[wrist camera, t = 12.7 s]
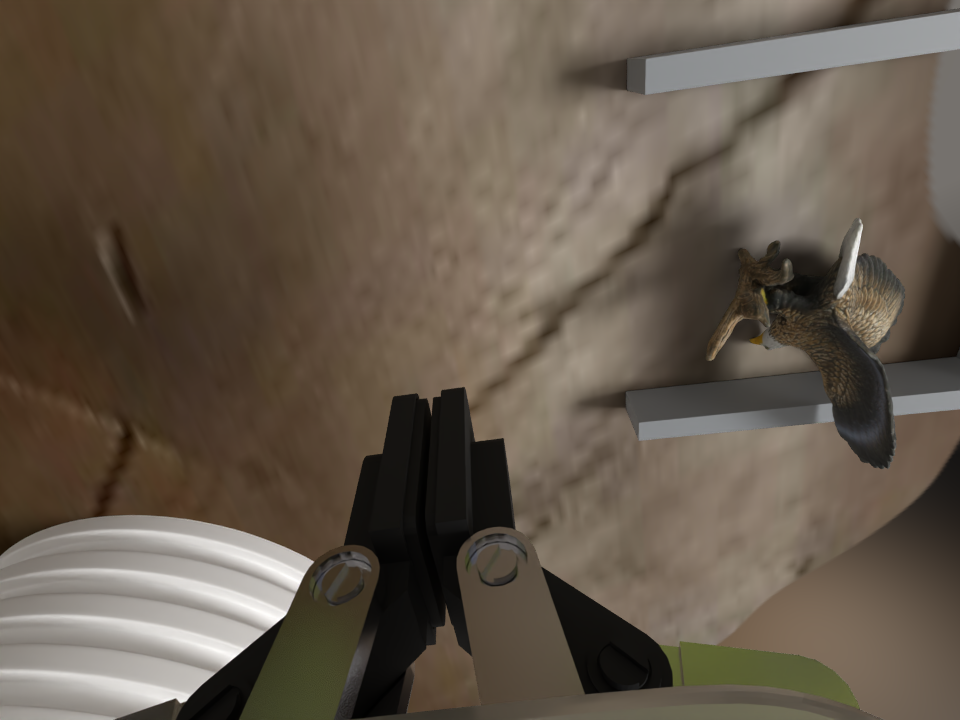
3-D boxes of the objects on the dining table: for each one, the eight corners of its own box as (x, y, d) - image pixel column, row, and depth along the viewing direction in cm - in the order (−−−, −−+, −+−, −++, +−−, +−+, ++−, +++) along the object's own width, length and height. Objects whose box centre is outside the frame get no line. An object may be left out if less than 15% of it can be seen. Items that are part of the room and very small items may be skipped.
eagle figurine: (653, 364, 23) (815, 467, 24) (759, 350, 16) (984, 497, 17) (731, 223, 24) (885, 326, 25) (862, 152, 17) (1072, 299, 18)
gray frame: (626, 58, 19) (645, 58, 16) (1121, -16, 17) (1212, -27, 15) (625, 408, 26) (638, 440, 24) (972, 372, 25) (1019, 403, 23)
